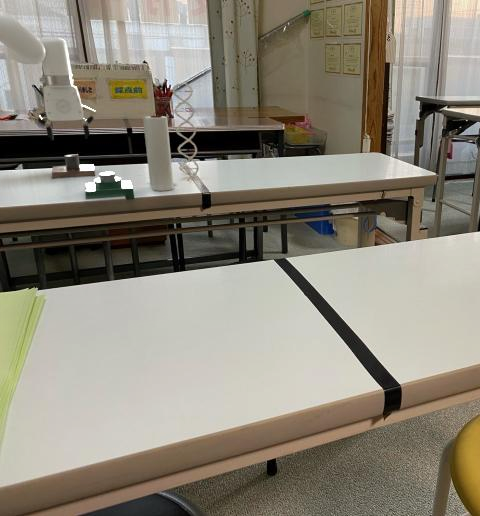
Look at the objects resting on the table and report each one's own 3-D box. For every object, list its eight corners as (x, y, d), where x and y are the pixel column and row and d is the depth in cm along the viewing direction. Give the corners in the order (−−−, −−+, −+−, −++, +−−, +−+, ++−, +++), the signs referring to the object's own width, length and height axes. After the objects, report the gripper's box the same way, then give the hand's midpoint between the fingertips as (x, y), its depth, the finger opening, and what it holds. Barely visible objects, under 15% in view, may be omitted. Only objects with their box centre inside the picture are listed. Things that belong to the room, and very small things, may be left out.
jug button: (100, 182, 141) (99, 175, 140) (99, 179, 145) (98, 172, 144) (116, 181, 143) (115, 174, 142) (115, 178, 146) (114, 171, 146)
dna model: (196, 181, 166) (188, 83, 155) (177, 180, 166) (167, 83, 155) (202, 177, 172) (195, 82, 161) (183, 176, 172) (175, 82, 162)
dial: (66, 169, 163) (64, 156, 162) (66, 167, 166) (64, 154, 165) (80, 168, 165) (78, 155, 163) (80, 166, 168) (78, 153, 167)
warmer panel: (53, 182, 160) (51, 172, 159) (54, 175, 168) (52, 166, 167) (95, 179, 165) (94, 169, 164) (94, 173, 173) (93, 163, 172)
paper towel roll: (175, 190, 154) (169, 117, 147) (154, 192, 151) (146, 117, 144) (170, 185, 160) (164, 114, 152) (150, 187, 157) (142, 115, 150)
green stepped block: (87, 203, 139) (84, 184, 137) (86, 194, 147) (83, 177, 145) (134, 199, 144) (132, 181, 142) (131, 191, 152) (129, 174, 150)
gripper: (25, 82, 149) (37, 142, 156) (91, 82, 157) (100, 139, 163) (27, 81, 156) (39, 138, 162) (90, 81, 163) (99, 135, 169)
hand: (69, 138), depth 162 cm, fingers open, 9 cm apart
